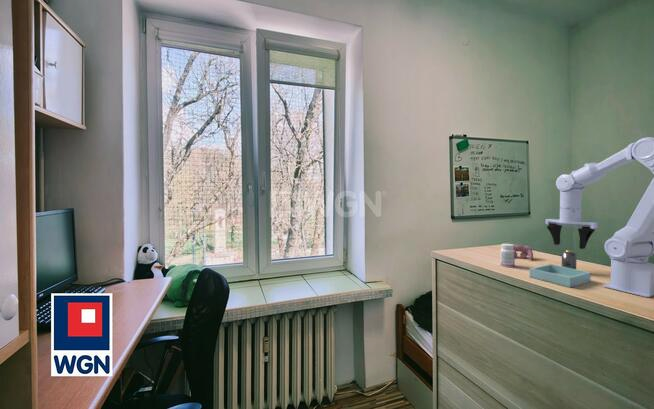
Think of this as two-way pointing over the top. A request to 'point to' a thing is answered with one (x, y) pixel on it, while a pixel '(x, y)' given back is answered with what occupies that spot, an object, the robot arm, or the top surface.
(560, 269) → the tray
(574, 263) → the dark grey bottle
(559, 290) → the top surface
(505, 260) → the pill bottle
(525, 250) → the video game controller
